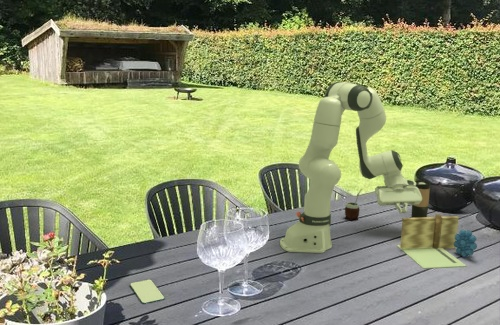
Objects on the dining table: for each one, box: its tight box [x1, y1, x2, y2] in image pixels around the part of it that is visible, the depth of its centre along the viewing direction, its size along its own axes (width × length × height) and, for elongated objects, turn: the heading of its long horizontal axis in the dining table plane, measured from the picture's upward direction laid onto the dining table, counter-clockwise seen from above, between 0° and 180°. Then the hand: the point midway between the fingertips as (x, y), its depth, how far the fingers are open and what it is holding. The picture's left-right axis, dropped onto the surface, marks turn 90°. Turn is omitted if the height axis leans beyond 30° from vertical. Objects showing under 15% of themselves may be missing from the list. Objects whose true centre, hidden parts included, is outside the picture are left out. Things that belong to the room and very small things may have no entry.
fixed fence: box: [432, 214, 460, 250], centre depth 218 cm, size 10×2×15 cm, turn 99°
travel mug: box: [410, 180, 431, 218], centre depth 252 cm, size 8×8×20 cm
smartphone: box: [129, 279, 166, 305], centre depth 176 cm, size 8×1×16 cm
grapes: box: [453, 229, 478, 258], centre depth 210 cm, size 12×7×12 cm, turn 22°
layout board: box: [396, 244, 467, 270], centre depth 211 cm, size 18×24×1 cm
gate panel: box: [399, 216, 436, 250], centre depth 216 cm, size 14×2×13 cm, turn 99°
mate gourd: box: [344, 188, 363, 222], centre depth 255 cm, size 8×8×15 cm
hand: (403, 212), depth 226 cm, fingers closed
